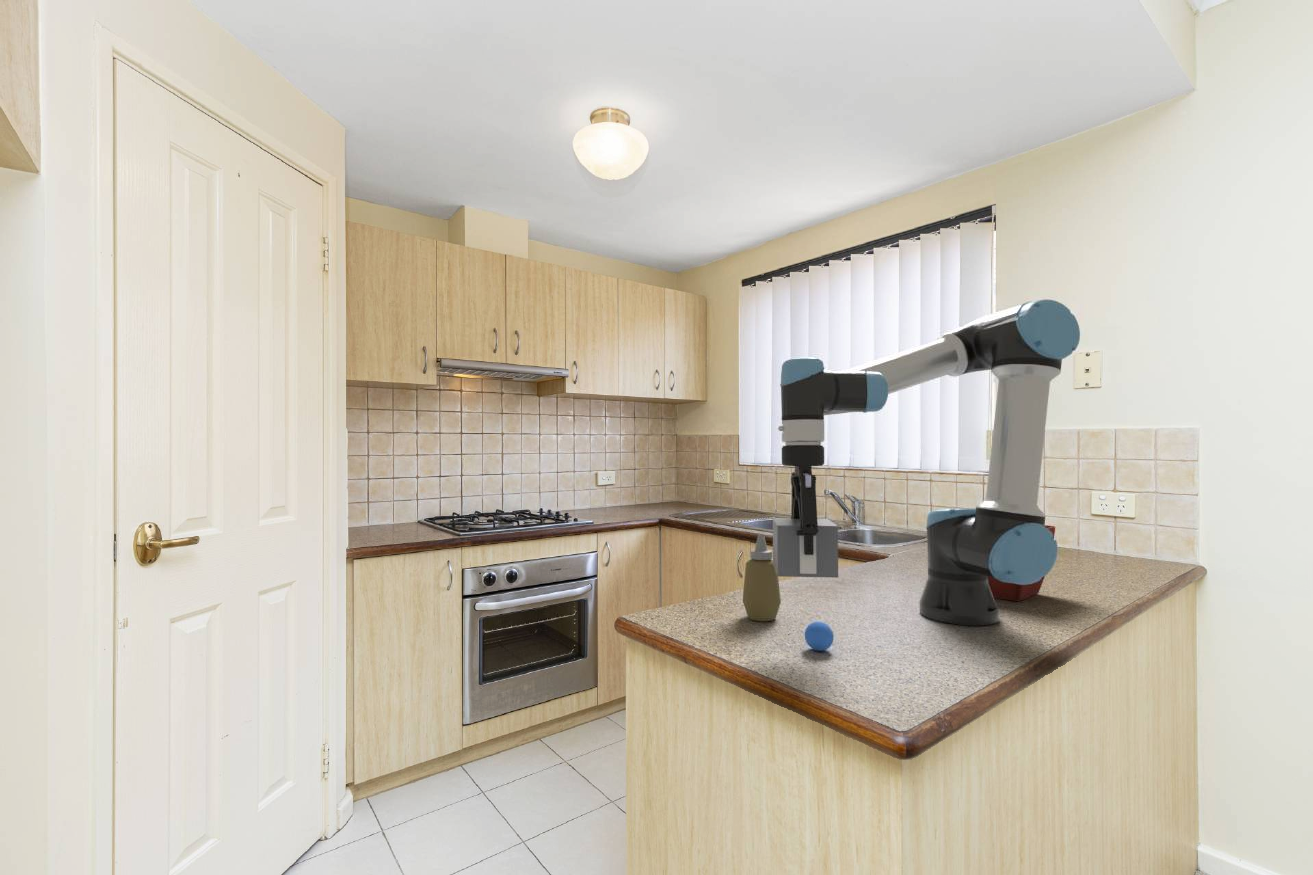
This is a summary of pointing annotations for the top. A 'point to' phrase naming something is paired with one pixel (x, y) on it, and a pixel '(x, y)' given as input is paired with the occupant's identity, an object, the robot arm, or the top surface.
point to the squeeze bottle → (761, 584)
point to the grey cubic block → (789, 548)
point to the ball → (819, 636)
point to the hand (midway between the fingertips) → (803, 566)
